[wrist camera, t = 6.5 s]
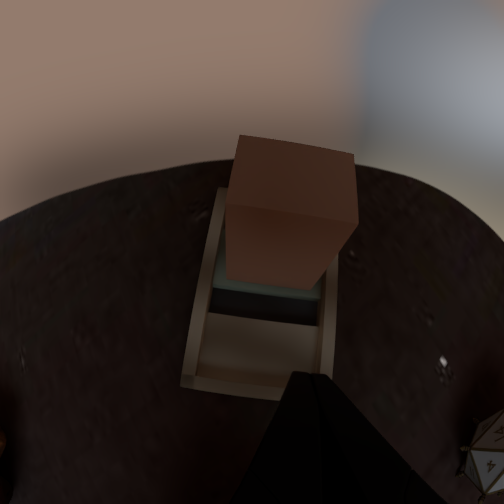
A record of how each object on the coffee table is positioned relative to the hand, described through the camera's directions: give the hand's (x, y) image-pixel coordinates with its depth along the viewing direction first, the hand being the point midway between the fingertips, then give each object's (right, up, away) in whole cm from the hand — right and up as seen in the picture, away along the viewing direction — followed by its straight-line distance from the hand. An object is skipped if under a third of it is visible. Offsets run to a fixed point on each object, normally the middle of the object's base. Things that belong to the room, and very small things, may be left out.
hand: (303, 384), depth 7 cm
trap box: (0, 0, +15) cm, 15 cm away
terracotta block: (0, +3, +15) cm, 15 cm away
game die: (+18, -13, +10) cm, 24 cm away
